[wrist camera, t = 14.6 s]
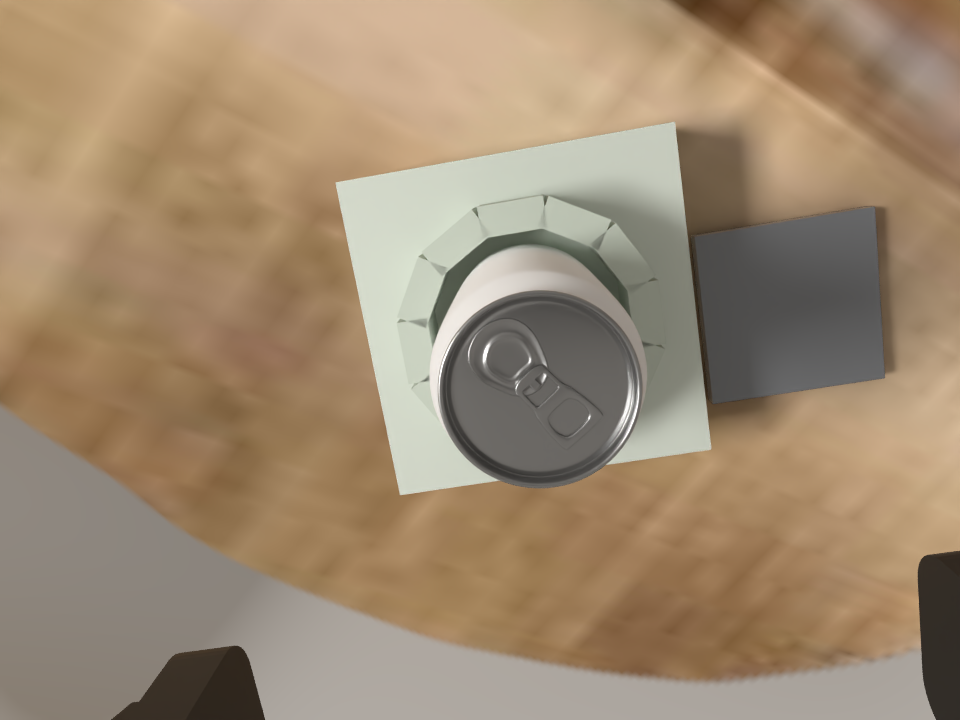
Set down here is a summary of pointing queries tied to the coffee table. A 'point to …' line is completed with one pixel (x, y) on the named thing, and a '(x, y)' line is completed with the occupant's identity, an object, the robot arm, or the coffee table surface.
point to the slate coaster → (790, 305)
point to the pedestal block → (514, 221)
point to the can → (537, 369)
